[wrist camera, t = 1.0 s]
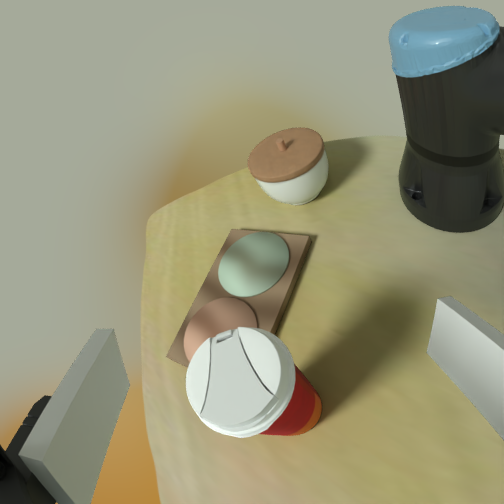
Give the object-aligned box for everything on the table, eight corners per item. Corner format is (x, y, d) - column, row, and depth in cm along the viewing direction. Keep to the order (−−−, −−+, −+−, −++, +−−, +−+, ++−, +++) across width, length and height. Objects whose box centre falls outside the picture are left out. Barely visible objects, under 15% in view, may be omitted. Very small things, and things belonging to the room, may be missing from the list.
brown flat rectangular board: (235, 234, 47) (230, 227, 46) (311, 241, 41) (308, 234, 40) (171, 359, 39) (164, 355, 38) (249, 393, 32) (243, 390, 31)
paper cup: (253, 386, 32) (175, 340, 22) (321, 363, 31) (273, 303, 21) (267, 454, 27) (185, 445, 17) (342, 433, 26) (303, 417, 16)
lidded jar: (294, 161, 52) (273, 115, 45) (349, 174, 45) (333, 121, 38) (254, 206, 49) (226, 161, 42) (310, 226, 42) (287, 174, 35)
